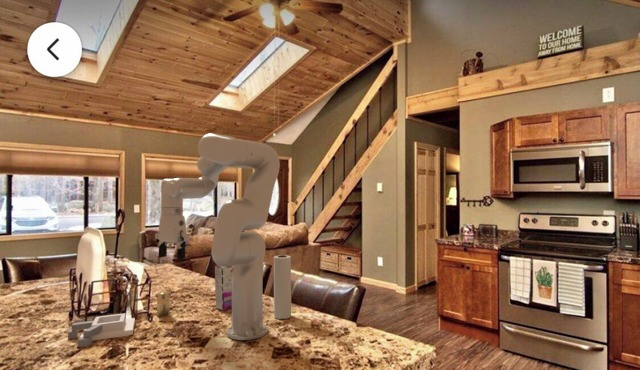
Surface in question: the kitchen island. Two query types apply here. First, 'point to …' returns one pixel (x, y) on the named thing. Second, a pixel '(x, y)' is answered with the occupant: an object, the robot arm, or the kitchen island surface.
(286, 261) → the paper towel roll
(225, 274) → the candy bar box
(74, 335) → the shaft stand
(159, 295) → the gold rounded cylinder
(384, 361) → the kitchen island surface
